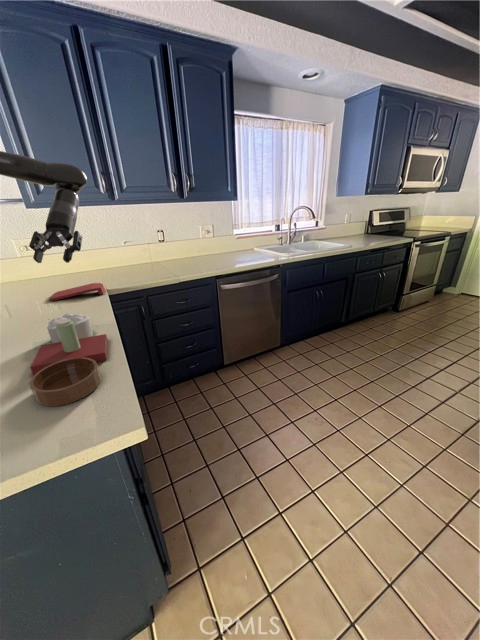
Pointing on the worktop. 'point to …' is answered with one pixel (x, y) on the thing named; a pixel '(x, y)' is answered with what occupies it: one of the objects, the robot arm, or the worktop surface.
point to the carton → (78, 291)
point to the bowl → (65, 381)
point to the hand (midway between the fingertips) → (51, 261)
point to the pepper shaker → (67, 335)
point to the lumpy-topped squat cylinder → (79, 322)
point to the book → (54, 352)
